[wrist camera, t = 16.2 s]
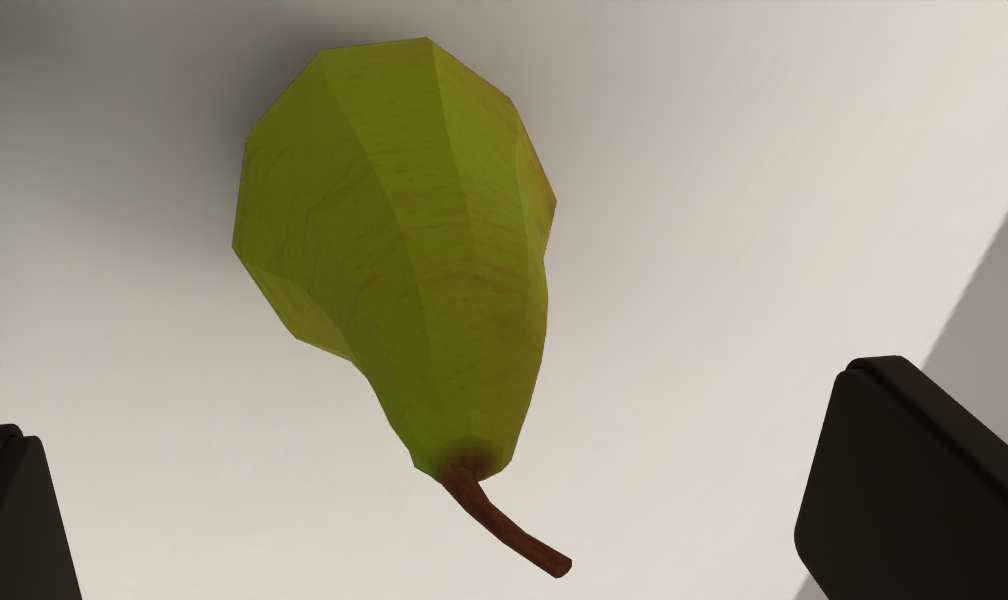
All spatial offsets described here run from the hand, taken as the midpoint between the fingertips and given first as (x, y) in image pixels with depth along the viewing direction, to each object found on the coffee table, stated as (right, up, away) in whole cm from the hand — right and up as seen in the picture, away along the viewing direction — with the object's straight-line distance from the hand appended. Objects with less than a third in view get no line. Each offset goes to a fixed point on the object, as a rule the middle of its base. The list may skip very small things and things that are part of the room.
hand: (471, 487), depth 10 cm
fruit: (-2, +5, +9) cm, 11 cm away
